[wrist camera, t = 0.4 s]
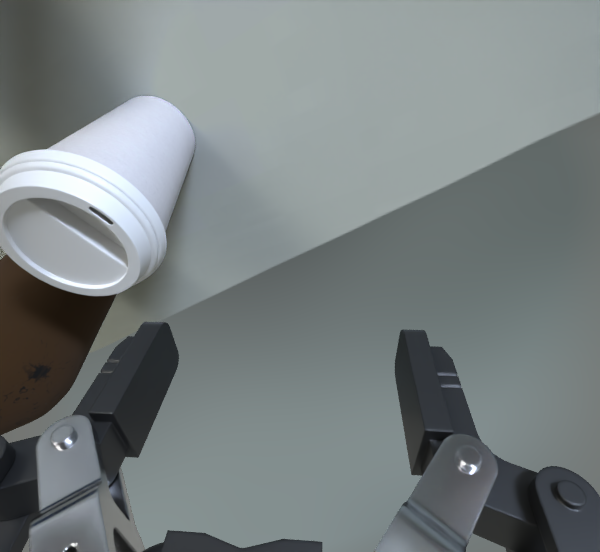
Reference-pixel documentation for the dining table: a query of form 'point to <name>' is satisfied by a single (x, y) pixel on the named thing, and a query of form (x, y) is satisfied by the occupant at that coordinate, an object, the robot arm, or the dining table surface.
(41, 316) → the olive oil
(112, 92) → the dining table surface
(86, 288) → the coffee cup
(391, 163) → the dining table surface
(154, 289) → the dining table surface
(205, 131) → the dining table surface
